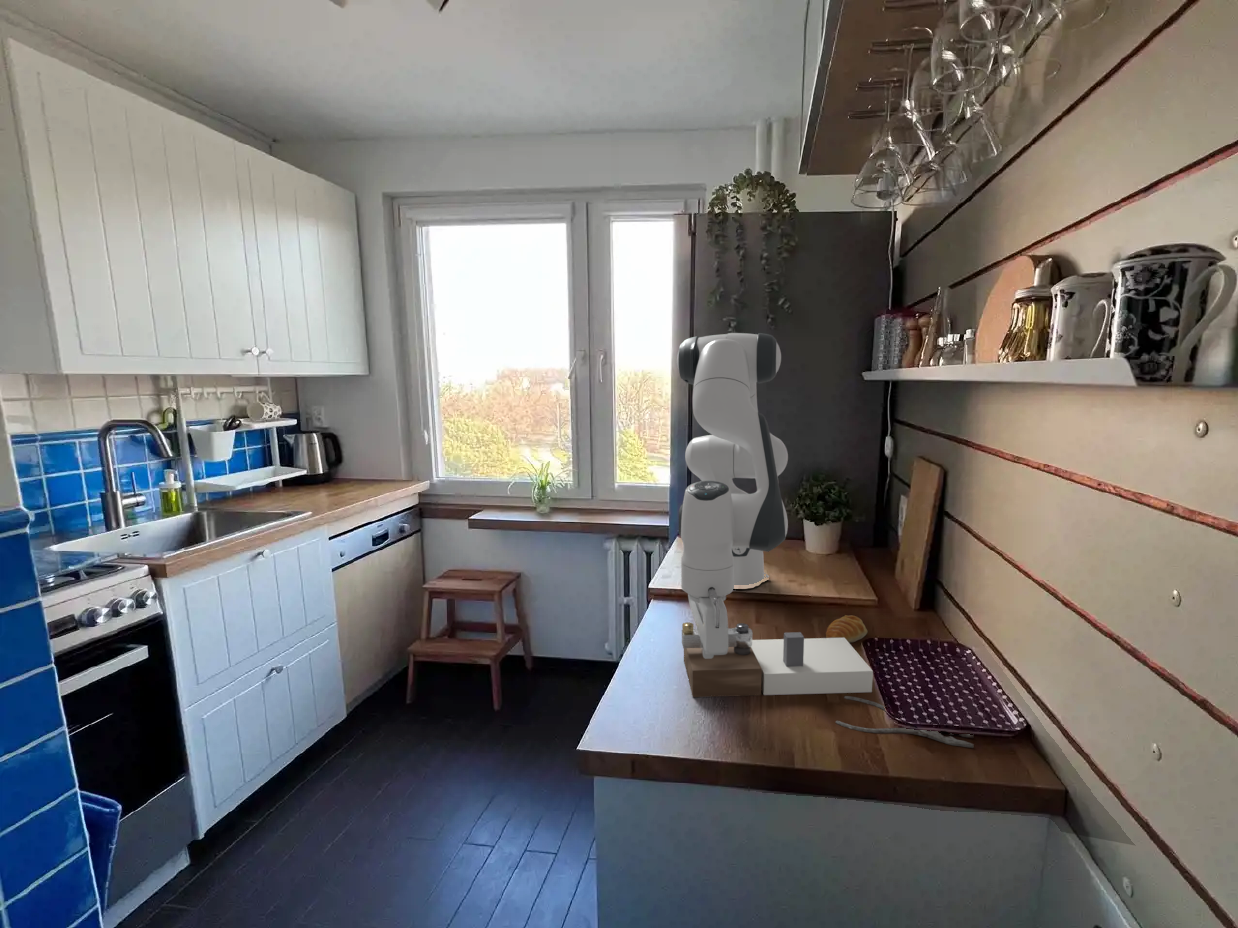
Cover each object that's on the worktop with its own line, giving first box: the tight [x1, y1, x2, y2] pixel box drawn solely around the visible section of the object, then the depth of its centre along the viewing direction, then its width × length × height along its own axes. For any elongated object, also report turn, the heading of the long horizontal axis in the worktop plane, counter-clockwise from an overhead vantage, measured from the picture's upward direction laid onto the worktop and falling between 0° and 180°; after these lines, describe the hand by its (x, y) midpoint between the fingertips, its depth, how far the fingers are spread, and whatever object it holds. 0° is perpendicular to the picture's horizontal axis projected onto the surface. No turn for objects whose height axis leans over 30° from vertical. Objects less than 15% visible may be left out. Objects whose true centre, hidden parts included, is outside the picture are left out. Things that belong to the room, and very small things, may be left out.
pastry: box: [825, 614, 868, 644], centre depth 128 cm, size 9×7×4 cm
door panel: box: [751, 631, 874, 696], centre depth 112 cm, size 13×19×10 cm
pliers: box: [835, 695, 975, 749], centre depth 98 cm, size 10×1×20 cm
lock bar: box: [681, 622, 753, 649], centre depth 111 cm, size 13×4×4 cm, turn 91°
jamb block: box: [683, 647, 762, 698], centre depth 112 cm, size 13×12×6 cm
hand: (707, 654), depth 105 cm, fingers closed
